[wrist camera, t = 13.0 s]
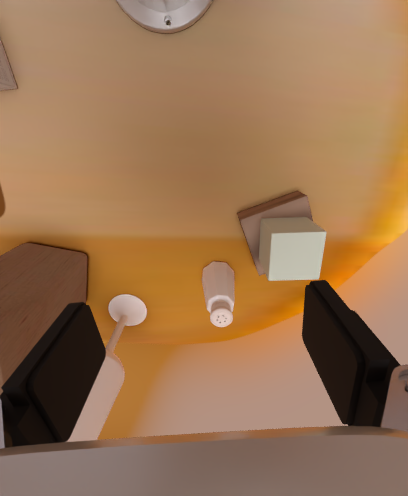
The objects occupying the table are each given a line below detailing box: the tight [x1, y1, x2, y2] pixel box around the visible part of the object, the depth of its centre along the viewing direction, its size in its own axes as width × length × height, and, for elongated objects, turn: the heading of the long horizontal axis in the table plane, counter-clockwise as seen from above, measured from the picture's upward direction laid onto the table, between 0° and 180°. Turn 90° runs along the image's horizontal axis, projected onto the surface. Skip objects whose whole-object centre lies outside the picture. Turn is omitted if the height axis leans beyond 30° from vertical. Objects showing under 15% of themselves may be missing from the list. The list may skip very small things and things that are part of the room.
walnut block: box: [237, 191, 313, 275], centre depth 36 cm, size 9×9×4 cm
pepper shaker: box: [202, 261, 234, 327], centre depth 36 cm, size 5×5×11 cm
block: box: [0, 243, 87, 395], centre depth 32 cm, size 10×10×20 cm
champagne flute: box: [66, 294, 147, 442], centre depth 33 cm, size 7×7×24 cm
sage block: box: [259, 217, 326, 281], centre depth 32 cm, size 6×6×6 cm
